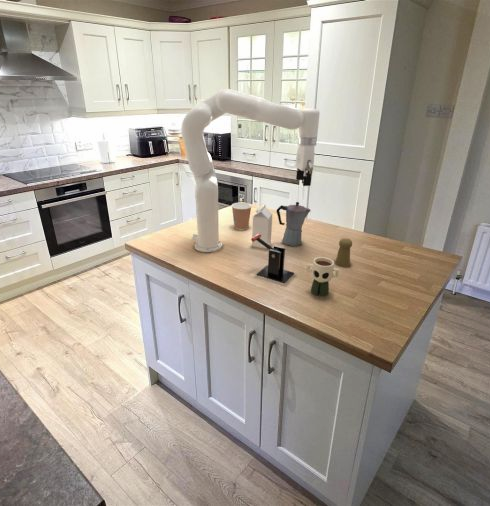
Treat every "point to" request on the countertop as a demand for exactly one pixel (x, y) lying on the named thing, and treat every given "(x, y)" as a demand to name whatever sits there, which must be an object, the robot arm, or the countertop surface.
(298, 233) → the moka pot
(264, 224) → the milk carton
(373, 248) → the countertop surface
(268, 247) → the switch lever
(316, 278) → the character mug
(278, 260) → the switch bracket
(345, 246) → the olive pepper mill
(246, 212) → the coffee cup
